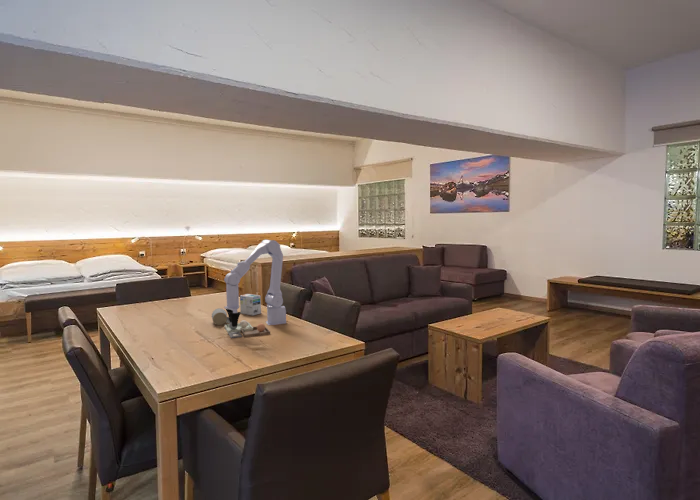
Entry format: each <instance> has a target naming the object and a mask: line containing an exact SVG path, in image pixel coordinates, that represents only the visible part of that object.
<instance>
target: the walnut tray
mask: <svg viewBox="0 0 700 500" xmlns="http://www.w3.org/2000/svg"><path fill="white" fill-rule="evenodd" d="M257 326H258V325H257ZM257 326H252V327H253V330H252V331H243V330H242V329H246V328H240V329H241V332H240V334H241V335H242V337H244V338H251V337H258V336H259V337H260V336H266V335H271V331H270V329H268V327H267V326H265V330H264V331H263V332H259V331H258V330H257ZM252 327H247V328H252Z"/></svg>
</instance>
